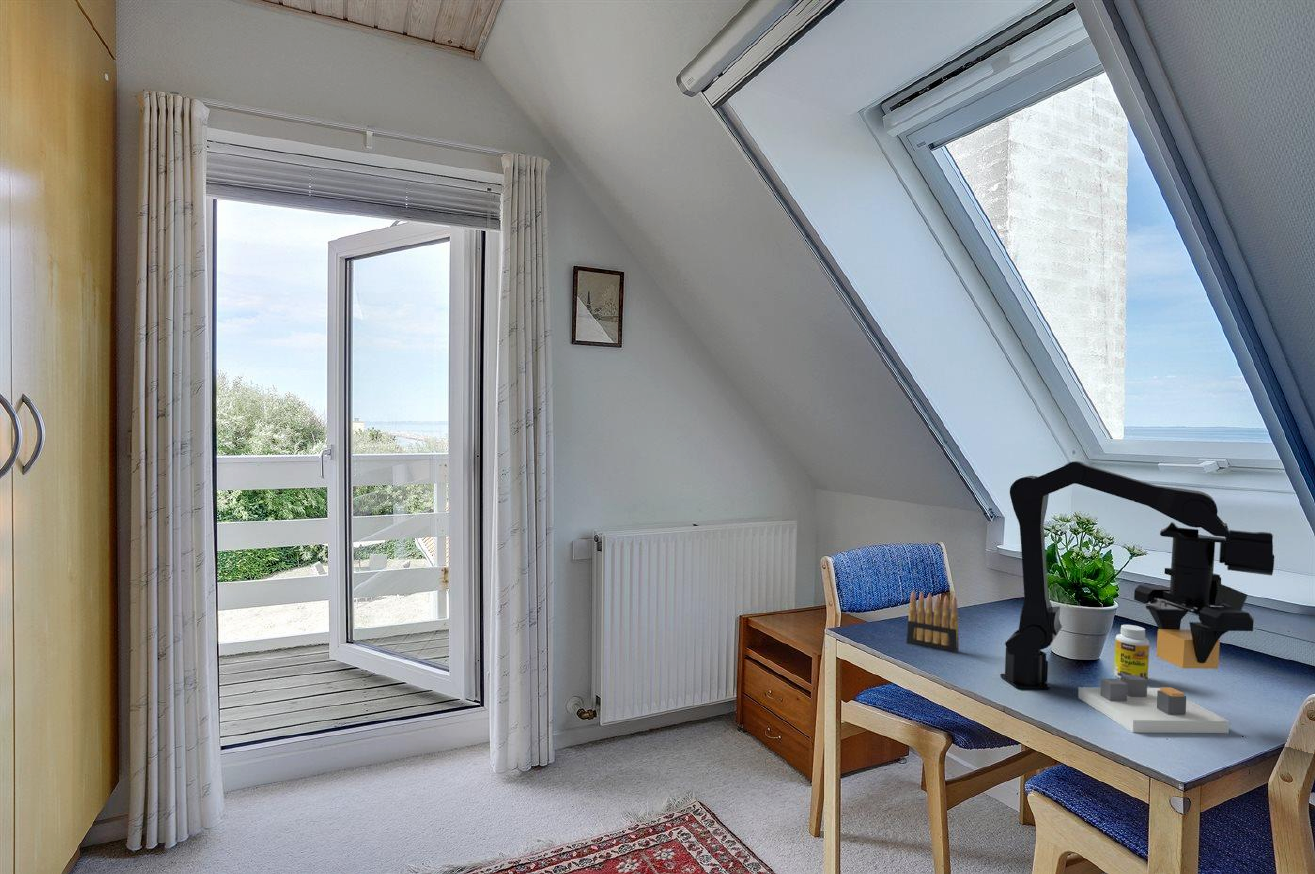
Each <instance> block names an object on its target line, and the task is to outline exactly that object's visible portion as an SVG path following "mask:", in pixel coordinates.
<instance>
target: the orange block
mask: <svg viewBox="0 0 1315 874" xmlns="http://www.w3.org/2000/svg"><path fill="white" fill-rule="evenodd" d="M1156 640H1157V641H1156V642H1157V643H1156V657H1157V658H1159V659H1162V660H1164V661H1166V662H1168V663H1171V664H1172V665H1174V666H1177V667H1179V668H1181V669H1200V670H1201V669H1209V670H1210V669H1213V670H1214V669H1215V670H1216V669H1217V670H1218V669H1219V663H1220V662H1219V659H1220V646H1221V645H1220V642H1221V640H1220V639H1219V640H1218V641H1217V643H1216V644H1215V646H1214V648H1213V650H1212V651H1211V653H1210V655H1209V657H1208V659H1207V661H1206V662H1205V663H1198V662H1197V659H1196V655H1195V651H1194V645H1193V640H1192V634H1191V629H1181V628H1180V629H1159V628H1158V629H1157V639H1156Z"/></svg>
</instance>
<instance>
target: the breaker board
mask: <svg viewBox="0 0 1315 874" xmlns="http://www.w3.org/2000/svg"><path fill="white" fill-rule="evenodd" d="M1158 690H1160V687H1148V679H1147V680H1146V679H1144V678H1142V677H1140V676H1138V675H1121V679H1119V678H1100V686H1099V687H1098V686H1096V687H1095V686H1093V687H1092V686H1091V687H1090V686H1083V687H1082V686H1080V687H1079V686H1078V693H1077V695H1078V699H1079V700H1081V701H1082V702H1084V703H1085V704H1087V705H1089V706H1090V707H1092V708H1093V709H1095V710H1097V711H1098V712H1099V713H1101V714H1103V715H1105V716H1106V717H1108V718H1109V719H1111V720H1113V721H1114V722H1115V723H1117V724H1119V725H1120V726H1122V727H1123V728H1125V729H1127V730H1129V731H1130V732H1131V733H1141V734H1142V733H1146V734H1147V733H1151V734H1152V733H1154V734H1155V733H1156V734H1157V733H1161V734H1167V733H1169V734H1171V733H1173V734H1176V733H1177V734H1229V731H1230V730H1229V728H1230V721H1229V720H1228V719H1226V718H1224V717H1222V716H1220V715H1218V714H1216V713H1214V712H1212V711H1210V710H1208V709H1206V708H1204V707H1202V706H1200V705H1198V704H1196V703H1194V702H1193V701H1191V700H1188V699H1187V698H1186V714H1167V713H1165V712H1163V711H1161V710H1160V709H1158V708H1157V692H1158Z"/></svg>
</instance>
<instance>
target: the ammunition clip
mask: <svg viewBox="0 0 1315 874" xmlns="http://www.w3.org/2000/svg"><path fill="white" fill-rule="evenodd" d="M932 596H933V595H932V593H931V592H929V593H928V595H927V599H926V607H925V595H924V592H923V591H922V590H921V591H920V592H919V597H918V603H917V597H916V591H915V590H912V591H911V594H910V600H909V608H908V621H907V629H906V630H907V631H906V632H907V633H906V641H905V642H906V644H908V645H909V644H910V645H914V646H917V647H918V646H919V647H924V648H928V649H933V650H936V651H937V650H938V651H943V652H946V653H947V652H948V653H953V654H957V653H958V652H959V616H958V615H959V614H958V601H957V598H956V596H954V597H953V599H952V600H951V601H952V603H951V607H950V602H949V597H948V595H945V596H944V598H943V604H942V608H941V602H942V601H941V597H940V594H939V593H937V595H936V596H935V600H934V607H933V597H932ZM933 608H934V610H933ZM950 608H951V609H950Z"/></svg>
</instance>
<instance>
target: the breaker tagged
mask: <svg viewBox="0 0 1315 874" xmlns="http://www.w3.org/2000/svg"><path fill="white" fill-rule="evenodd" d="M1159 688H1160V690H1158V692H1157V708H1158V709H1160V710H1161V711H1163V712H1165V713H1167V714H1186V699H1187V696H1186V695H1185V693H1183V692H1181V691H1180V690H1178V689H1175V688H1173V687H1166V686H1165V687H1162V686H1161V687H1159Z"/></svg>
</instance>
